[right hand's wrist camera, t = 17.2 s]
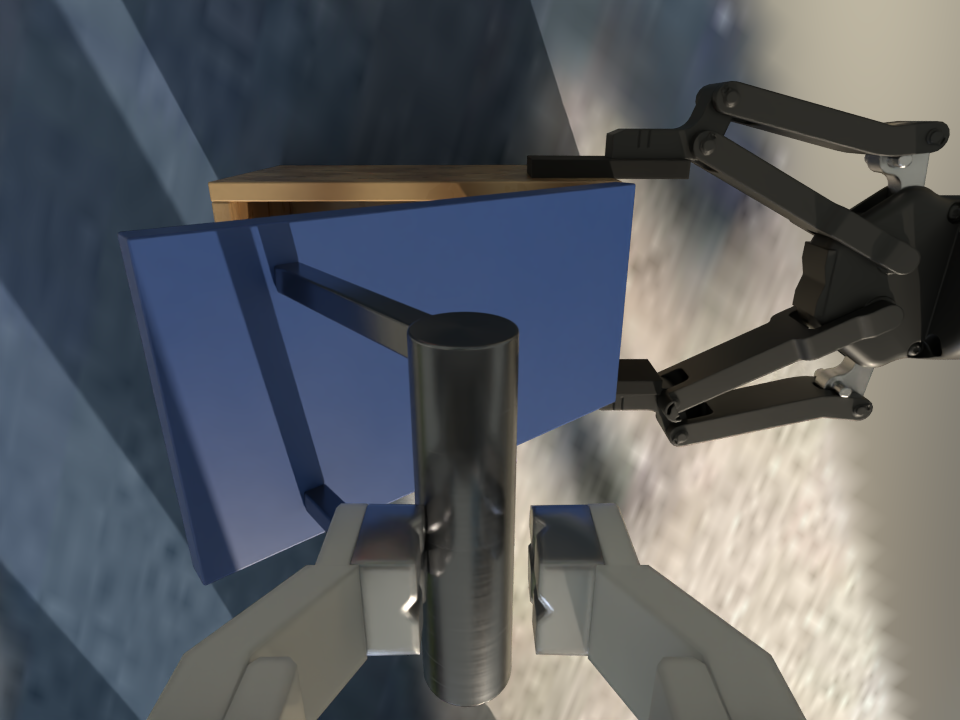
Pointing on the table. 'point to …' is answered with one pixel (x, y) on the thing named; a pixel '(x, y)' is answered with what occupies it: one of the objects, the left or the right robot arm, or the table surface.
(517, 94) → the table surface
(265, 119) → the table surface
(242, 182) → the chest
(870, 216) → the left robot arm
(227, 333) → the lid
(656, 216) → the table surface
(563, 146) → the table surface
